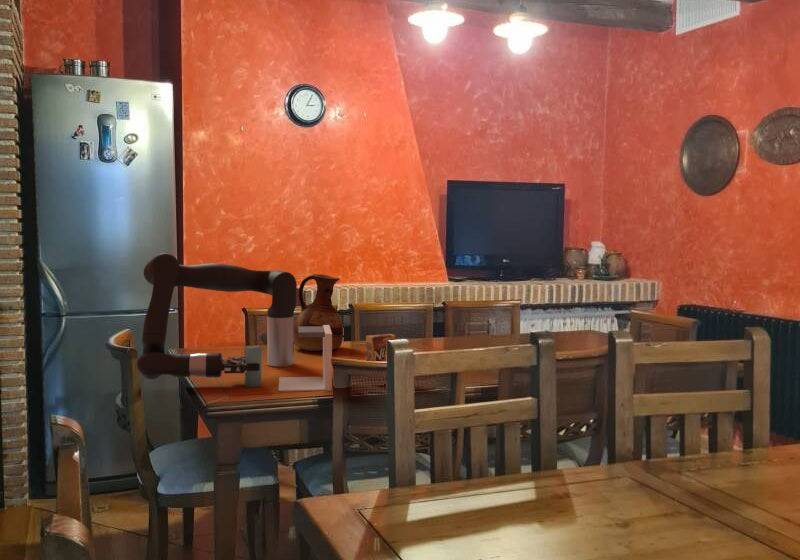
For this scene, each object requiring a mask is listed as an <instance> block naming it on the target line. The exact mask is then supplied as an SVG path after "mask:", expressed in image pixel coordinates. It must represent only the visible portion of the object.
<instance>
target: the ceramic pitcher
mask: <svg viewBox="0 0 800 560" xmlns="http://www.w3.org/2000/svg"><path fill="white" fill-rule="evenodd" d="M340 279H341V278H340V277H335V276H331V275H328V274H321V273H320V274H319V273H318V274H316V273H313V274H311V275H309V276H306V277H305V278H304V279H302V281H301V282H300V285H299V288H298V291H297V294H298V295H297V296H298V299H299V303H300V307H301V311H300V313H299V314H298V316H297V318H296V320H294V345H295V346H296V347H297V348H300V349H302V350H305V351H310V352H314V351H315V352H322V351H321V350H323V337H299V335H298V327H307V326H323V325H329V326H330V329H331V332H332V350H335V349H338V348H340V347H341V346H342V344H343V337H344V327H343V323H342V318H341V316H340V314H339V312H338V310H337V309H336V308H335V307H334V306H333V300H332V296H333V294H334V286H335V285H336V284H337V282H339V281H340ZM311 280H315V281H314V282H315V283H316V293H315V298H314V300H313V301H312V302H311V303H309V304H306V303H305V301H304V297H303V292H304V291H303V290H304V287H305V285H306V284H307V282H308V281H311Z"/></svg>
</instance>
